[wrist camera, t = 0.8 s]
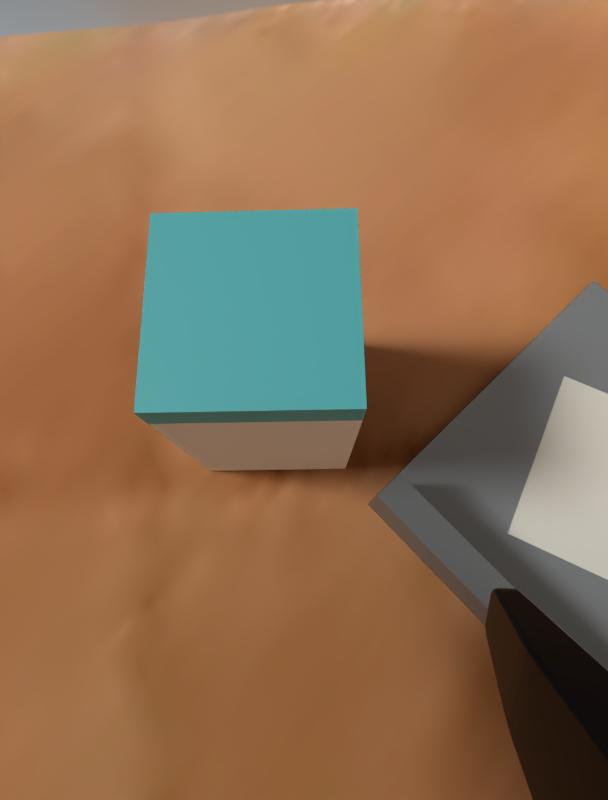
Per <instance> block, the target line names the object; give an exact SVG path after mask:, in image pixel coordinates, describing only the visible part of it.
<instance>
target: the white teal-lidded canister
mask: <svg viewBox="0 0 608 800" xmlns="http://www.w3.org/2000/svg"><path fill="white" fill-rule="evenodd" d="M366 410H367V399H366V379H365V358H364V337H363V317H362V296H361V275H360V254H359V234H358V213H357V208H352V209H311V210H270V211H229V212H188V213H151V214H150V226H149V237H148V249H147V261H146V273H145V285H144V297H143V309H142V321H141V333H140V345H139V357H138V369H137V381H136V393H135V405H134V413H135V414H136V415H137V416H138V417H140V418H141V419H142V420H144V421H145V422H146V423H148V424H149V425H150V426H152V427H153V428H154V429H156V430H157V431H158V432H160V433H161V434H162V435H164V436H165V437H166V438H168V439H169V440H170V441H171V442H173V443H174V444H175V445H177V446H178V447H179V448H181V449H182V450H183V451H185V452H186V453H187V454H189V455H190V456H191V457H193V458H194V459H195V460H197V461H198V462H199V463H200V464H202V465H203V466H204V467H206V468H207V469H208V470H210V471H230V470H294V469H345V468H346V466H347V463H348V460H349V457H350V455H351V452H352V449H353V446H354V443H355V441H356V438H357V435H358V432H359V430H360V427H361V424H362V421H363V418H364V416H365V413H366Z"/></svg>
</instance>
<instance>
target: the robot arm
mask: <svg viewBox="0 0 608 800" xmlns="http://www.w3.org/2000/svg"><path fill="white" fill-rule="evenodd" d="M485 627H486V636H487V640H488V644H489V649H490V653H491V657H492V661H493V666H494V670H495V674H496V678H497V683H498V687H499V691H500V696H501V700H502V704H503V708H504V712H505V716H506V720H507V724H508V728H509V731H510V734H511V737H512V740H513V743H514V746H515V749H516V752H517V755H518V758H519V761H520V764H521V767H522V770H523V772H524V775H525V778H526V781H527V784H528V787H529V790H530V793H531V796H532V798H533V800H608V670H607V669H606V668H605V667H604V666H603V665H602V664H600V663H599V662H598V661H597V660H596V659H595V658H594V657H593V656H592V655H590V654H589V653H588V652H587V651H586V650H585V649H584V648H583V647H582V646H580V645H579V644H578V643H577V642H576V641H575V640H574V639H573V638H572V637H571V636H569V635H568V634H567V633H566V632H565V631H564V630H563V629H562V628H561V627H559V626H558V625H557V624H556V623H555V622H554V621H553V620H552V619H551V618H549V617H548V616H547V615H546V614H545V613H544V612H543V611H542V610H541V609H540V608H538V607H537V606H536V605H535V604H534V603H533V602H532V601H531V600H530V599H528V598H527V597H526V596H525V595H524V594H523V593H522V592H521V591H519V590H517V589H515V588H496V589H493V591H492V592H491V595H490V600H489V606H488V611H487V617H486V624H485Z"/></svg>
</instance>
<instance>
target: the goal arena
mask: <svg viewBox="0 0 608 800" xmlns="http://www.w3.org/2000/svg"><path fill="white" fill-rule="evenodd" d="M368 505H369V506H370V507H371V508H372V509H373V510H374V511H375V512H376V513H377V514H378V515H379V516H380V517H381V518H382V519H383V520H384V521H385V522H386V523H387V524H388V525H389V526H390V527H391V528H392V530H393V531H394V532H395V533H396V534H397V535H398V536H399V537H400V538H401V539H402V540H403V541H404V542H405V543H406V544H407V545H408V546H409V547H410V548H411V549H412V550H413V551H414V552H415V553H416V554H417V555H418V556H419V557H420V559H421V560H422V561H423V562H424V563H425V564H426V565H427V566H428V567H429V568H430V569H431V570H432V571H433V572H434V573H435V574H436V575H437V576H438V577H439V578H440V579H441V580H442V581H443V582H444V583H445V584H446V585H447V586H448V588H449V589H450V590H451V591H452V592H453V593H454V594H455V595H456V596H457V597H458V598H459V599H460V600H461V601H462V602H463V603H464V604H465V605H466V606H467V607H468V608H469V609H470V610H471V611H472V612H473V613H474V614H475V615H476V617H477V618H478V619H479V620H480V621H481V622H482V623H483V624H484V625H485V624H486V617H487V611H488V606H489V600H490V595H491V592H492V591H493V589H496V588H515V589H517V590H519V591H521V592H522V593H523V594H524V595H525V596H526V597H527V598H528V599H530V600H531V601H532V602H533V603H534V604H535V605H536V606H537V607H538V608H540V609H541V610H542V611H543V612H544V613H545V614H546V615H547V616H548V617H549V618H551V619H552V620H553V621H554V622H555V623H556V624H557V625H558V626H559V627H561V628H562V629H563V630H564V631H565V632H566V633H567V634H568V635H569V636H571V637H572V638H573V639H574V640H575V641H576V642H577V643H578V644H579V645H580V646H582V647H583V648H584V649H585V650H586V651H587V652H588V653H589V654H590V655H592V656H593V657H594V658H595V659H596V660H597V661H598V662H599V663H600V664H602V665H603V666H604V667H605V668H606V669H607V670H608V292H607V291H606V290H605V289H604V288H602V287H601V286H600V285H599V284H597V283H596V282H595V281H593V282H592V283H591V284H590V285H589V286H588V287H587V288H586V289H585V290H584V291H583V292H582V293H581V294H580V295H579V296H578V297H577V298H576V299H575V300H574V301H572V302H571V303H570V304H569V305H568V306H567V307H566V308H565V309H564V310H563V311H562V312H561V313H560V314H559V315H558V316H557V317H556V318H555V319H554V320H553V321H552V322H551V323H550V324H549V325H548V326H547V327H546V328H545V329H544V330H543V331H542V332H541V333H540V334H539V335H538V336H537V337H536V338H535V339H534V340H533V341H532V342H531V343H530V344H529V345H528V346H527V347H526V348H525V349H524V350H523V351H522V352H521V353H520V354H519V355H518V356H517V357H516V358H515V359H514V360H513V361H512V362H511V363H510V364H509V365H508V366H507V367H506V368H505V369H504V370H503V371H502V372H501V373H500V374H499V375H498V376H497V377H496V378H495V379H494V380H493V381H492V382H491V383H490V384H489V385H488V386H487V387H486V388H485V389H484V390H483V391H482V392H481V393H480V394H479V395H478V396H477V397H476V398H474V399H473V400H472V401H471V402H470V403H469V404H468V405H467V406H466V407H465V408H464V409H463V410H462V411H461V412H460V413H459V414H458V415H457V416H456V417H455V418H454V419H453V420H452V421H451V422H450V423H449V424H448V425H447V426H446V427H445V428H444V429H443V430H442V431H441V432H440V433H439V434H438V435H437V436H436V437H435V438H434V439H433V440H432V441H431V442H430V443H429V444H428V445H427V446H426V447H425V448H424V449H423V450H422V451H421V452H420V453H419V454H418V455H417V456H416V457H415V458H414V459H413V460H412V461H411V462H410V463H409V464H408V465H407V466H406V467H405V468H404V469H403V470H402V471H401V472H400V473H399V474H398V475H397V476H396V477H395V478H394V479H393V480H392V481H391V482H390V483H389V484H388V485H387V486H386V487H385V488H384V489H383V490H382V491H381V492H380V493H379V494H377V495H376V496H375V497H374V498H373V499H372V500H371V501H370V502H369V503H368Z"/></svg>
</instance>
